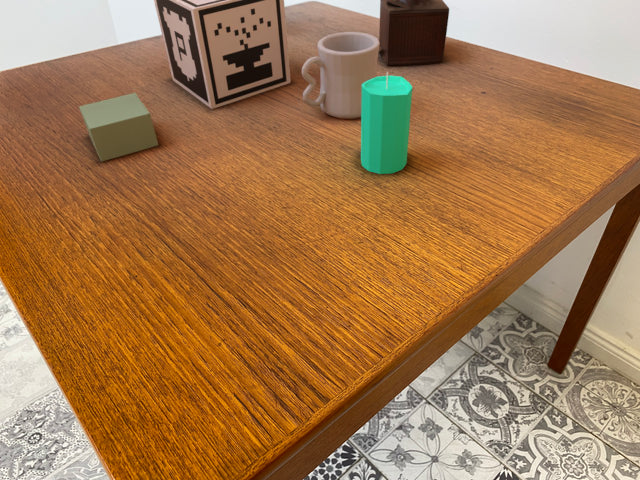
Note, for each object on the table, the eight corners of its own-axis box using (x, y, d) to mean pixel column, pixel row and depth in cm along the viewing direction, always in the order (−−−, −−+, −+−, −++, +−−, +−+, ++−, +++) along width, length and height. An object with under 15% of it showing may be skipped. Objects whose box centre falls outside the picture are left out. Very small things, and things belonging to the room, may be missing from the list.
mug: (358, 89, 85) (358, 27, 78) (390, 110, 79) (393, 44, 72) (290, 109, 80) (285, 44, 74) (319, 132, 74) (315, 64, 68)
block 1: (101, 162, 71) (89, 129, 67) (90, 137, 76) (78, 106, 73) (158, 145, 73) (149, 113, 70) (144, 123, 79) (135, 92, 76)
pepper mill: (374, 46, 100) (376, -61, 88) (431, 42, 100) (441, -65, 88) (387, 78, 88) (392, -40, 76) (451, 74, 88) (466, -45, 76)
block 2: (246, 58, 98) (234, -30, 88) (290, 82, 88) (282, -13, 78) (172, 80, 91) (151, -12, 81) (211, 109, 82) (192, 9, 72)
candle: (370, 177, 65) (372, 86, 57) (354, 154, 69) (354, 66, 62) (414, 169, 66) (422, 78, 58) (395, 146, 70) (401, 59, 63)
